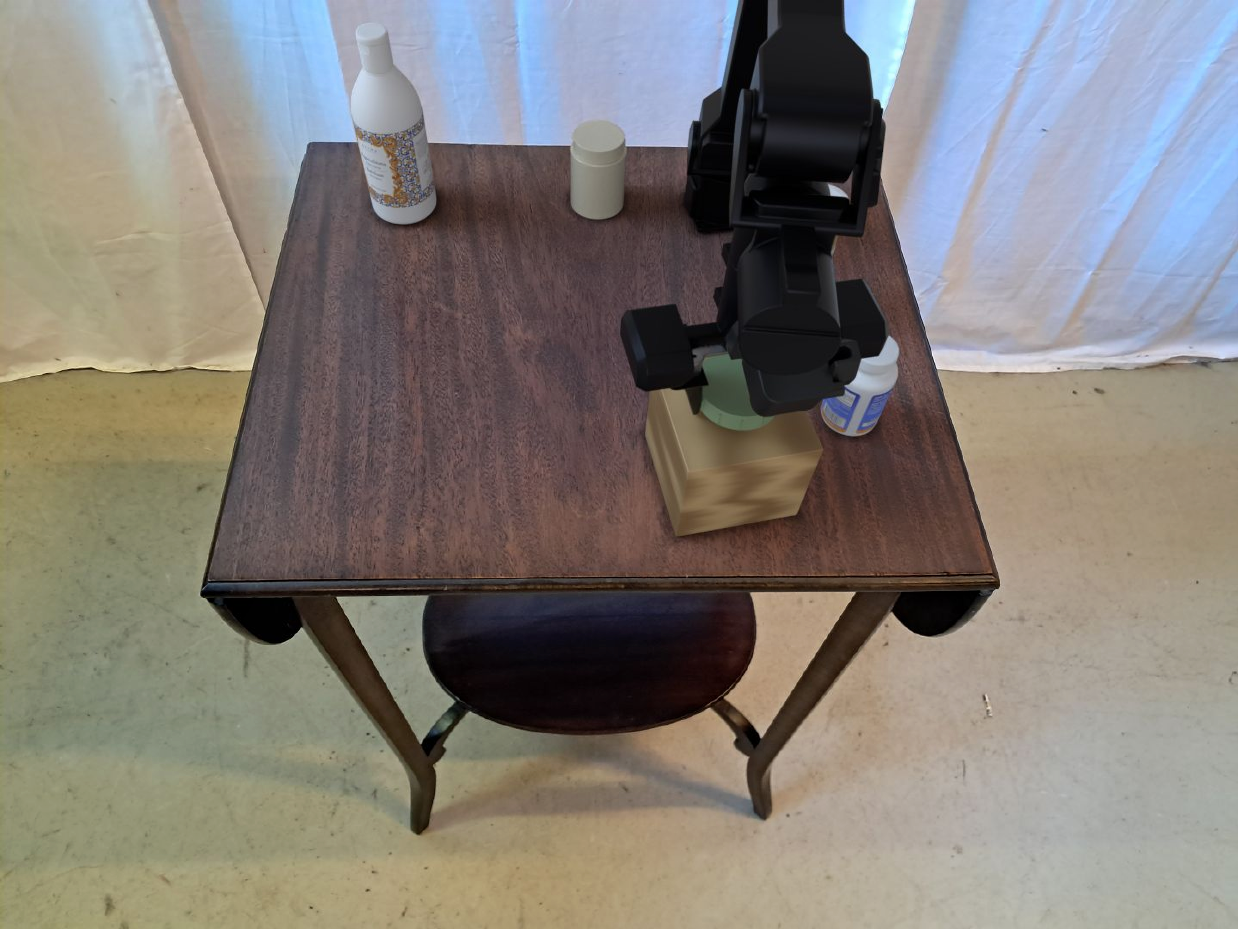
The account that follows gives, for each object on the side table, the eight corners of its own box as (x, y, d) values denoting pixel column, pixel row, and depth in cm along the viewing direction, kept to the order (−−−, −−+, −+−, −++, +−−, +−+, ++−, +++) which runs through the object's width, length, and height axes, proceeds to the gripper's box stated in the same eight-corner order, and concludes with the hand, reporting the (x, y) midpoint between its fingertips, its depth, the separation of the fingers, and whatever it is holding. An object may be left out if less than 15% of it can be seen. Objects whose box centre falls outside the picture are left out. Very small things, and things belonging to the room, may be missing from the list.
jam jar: (617, 181, 101) (620, 115, 94) (629, 216, 98) (633, 150, 91) (565, 187, 100) (565, 120, 93) (576, 222, 97) (576, 156, 90)
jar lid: (708, 437, 67) (711, 423, 66) (685, 369, 71) (687, 354, 70) (793, 423, 68) (797, 409, 67) (765, 357, 72) (769, 342, 71)
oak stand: (757, 416, 83) (778, 345, 75) (796, 515, 77) (823, 449, 69) (644, 434, 81) (652, 363, 73) (675, 537, 75) (688, 472, 67)
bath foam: (360, 210, 96) (316, 34, 80) (400, 177, 100) (366, 1, 83) (410, 235, 95) (375, 60, 78) (449, 200, 98) (424, 25, 81)
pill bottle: (874, 396, 85) (906, 326, 77) (878, 441, 82) (911, 373, 74) (818, 390, 85) (843, 320, 77) (819, 435, 82) (846, 367, 74)
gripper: (666, 370, 52) (647, 507, 65) (955, 326, 55) (882, 466, 68) (623, 242, 58) (614, 391, 71) (886, 209, 61) (831, 358, 74)
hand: (736, 403), depth 71 cm, fingers closed on jar lid, 7 cm apart
